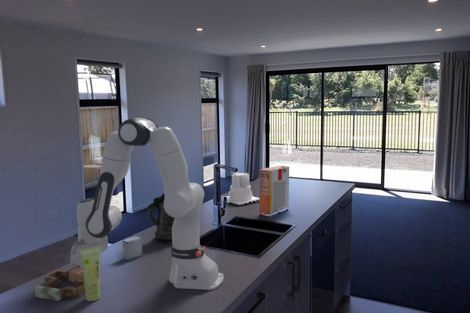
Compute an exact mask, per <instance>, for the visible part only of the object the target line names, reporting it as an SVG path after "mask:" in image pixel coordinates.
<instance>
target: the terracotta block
mask: <svg viewBox="0 0 470 313" xmlns="http://www.w3.org/2000/svg"><path fill="white" fill-rule="evenodd" d="M82 276H83V267H80V268H78V267H77V268H75V269H73V270H71V271H70V272H69V279H68V281H69V282H71V283H75V282H74V281H75V280H77V279H78V278H80V277H82Z"/></svg>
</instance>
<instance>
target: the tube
mask: <svg viewBox="0 0 470 313" xmlns="http://www.w3.org/2000/svg"><path fill="white" fill-rule="evenodd" d="M100 248H101V247H100V246H97V247H93V248H89V249H85V250H80V256H81V261H82V264H81V268H83V275H84V283H85V293H84V294H85V300H86V301H87V302H95V301H97V300H99V299H100V297H101V282H100V280H101V279H100V278H101V277H100V274H101V273H100V264H101V263H100V262H101V261H100V260H101V253H100Z"/></svg>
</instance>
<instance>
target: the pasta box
mask: <svg viewBox="0 0 470 313" xmlns="http://www.w3.org/2000/svg"><path fill="white" fill-rule="evenodd" d="M259 198H260V199H259V201H258V202H259V208H258V209H259V212H258V213H264V214H269V215H270V214H272V213H274V212H277V211H279V210H282V209H284V208H287V207H289V206H290V203H289V202H290V166H286V165H285V166H284V165H276V166H271V167H266V168H262V169H259Z"/></svg>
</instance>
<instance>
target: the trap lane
mask: <svg viewBox="0 0 470 313" xmlns="http://www.w3.org/2000/svg"><path fill="white" fill-rule="evenodd" d="M77 267H78V268H81V264H80V265H74V266H73V267H72V268H70V269H68V270H64V269H56V270H53V271H51V272H50V273H48V274H46V275H44V284H42V285H38V284H36V286H34V295H35V298H40V299H45V300H51V301H56V302H59V301H61V300H63V299H64V298H65V297H71V298H75V299H76V298H79V297H81V296H83V295H84V294H86V293H85V283H84V275H83V276H82V277H80V278H78V279H77V280H75V281H74V282H73V283H74V287H70V286H63V287H62V288H56V287H58V286H59V285H60V283H62V282H63V281H65V280H69V272H70V271H71V270H73V269H75V268H77Z"/></svg>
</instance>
